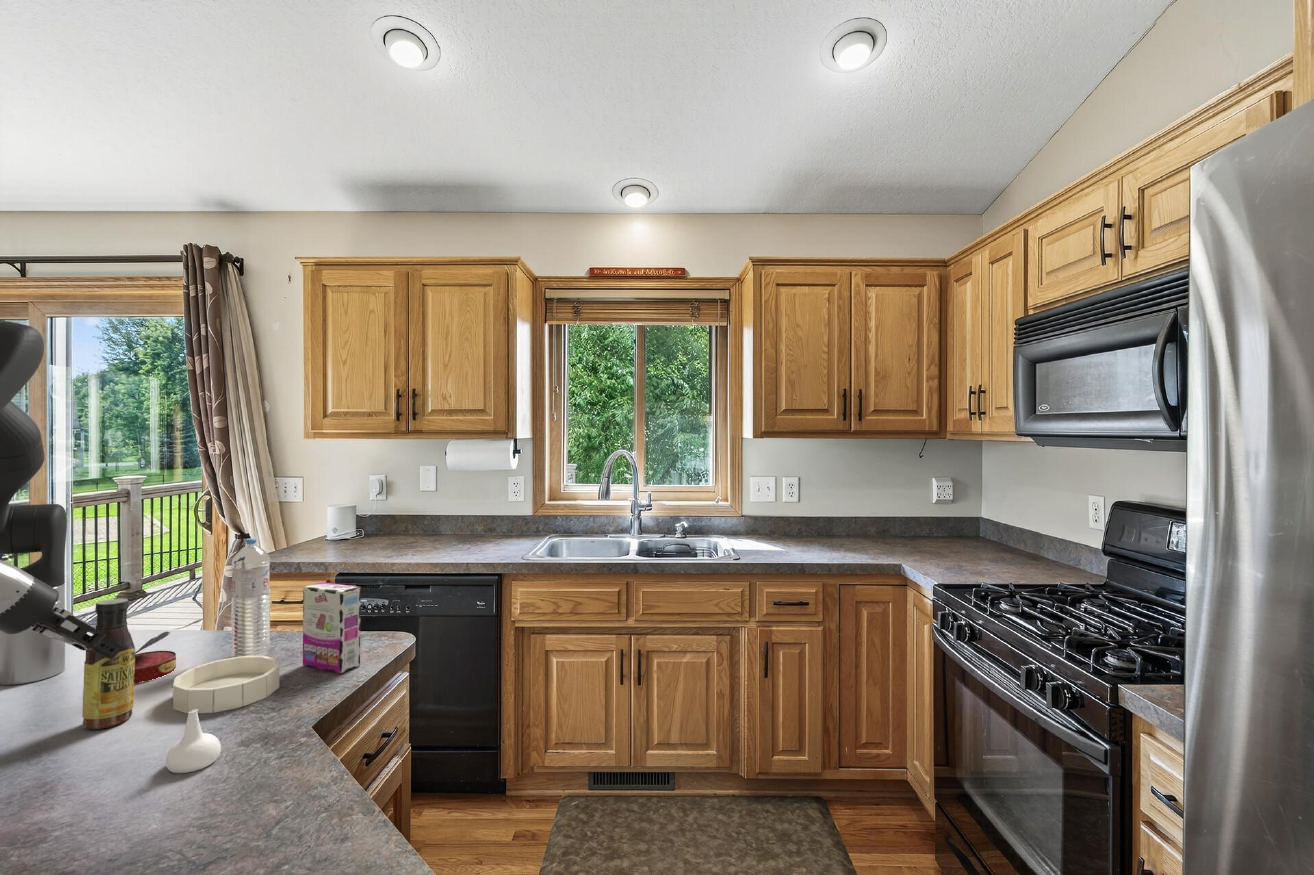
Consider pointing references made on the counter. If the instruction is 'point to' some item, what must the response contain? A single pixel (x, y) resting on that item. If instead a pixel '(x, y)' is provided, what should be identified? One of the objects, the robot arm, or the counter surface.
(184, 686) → the bowl
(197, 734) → the garlic bulb
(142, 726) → the counter surface
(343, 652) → the candy bar box
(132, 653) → the sauce bottle
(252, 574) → the water bottle
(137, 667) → the canned food
